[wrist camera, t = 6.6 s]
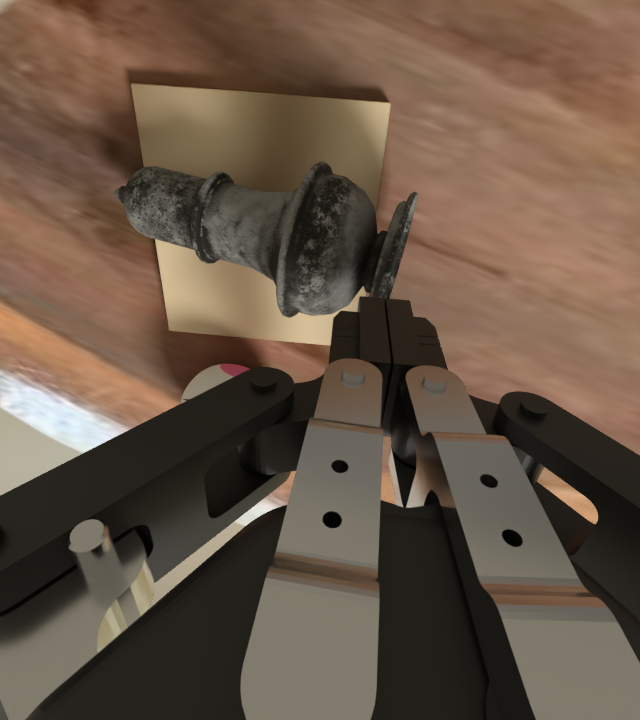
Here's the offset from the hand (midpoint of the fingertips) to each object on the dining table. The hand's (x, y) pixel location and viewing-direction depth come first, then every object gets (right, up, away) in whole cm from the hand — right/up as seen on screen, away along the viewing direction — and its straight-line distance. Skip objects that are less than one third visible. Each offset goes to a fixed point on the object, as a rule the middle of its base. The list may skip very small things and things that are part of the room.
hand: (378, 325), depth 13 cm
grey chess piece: (+1, +2, +3) cm, 4 cm away
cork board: (-4, +5, +7) cm, 9 cm away
